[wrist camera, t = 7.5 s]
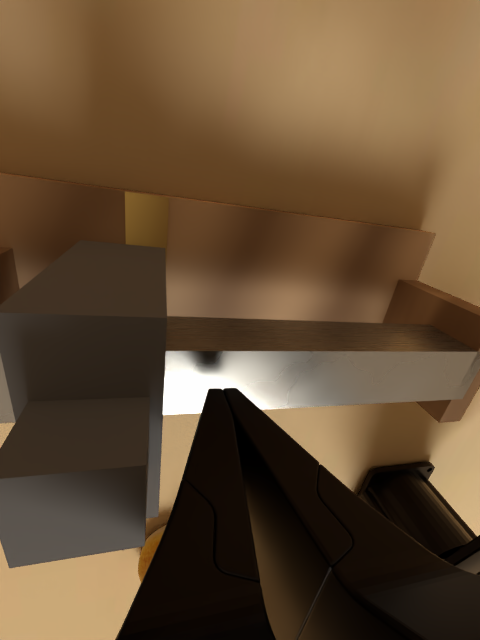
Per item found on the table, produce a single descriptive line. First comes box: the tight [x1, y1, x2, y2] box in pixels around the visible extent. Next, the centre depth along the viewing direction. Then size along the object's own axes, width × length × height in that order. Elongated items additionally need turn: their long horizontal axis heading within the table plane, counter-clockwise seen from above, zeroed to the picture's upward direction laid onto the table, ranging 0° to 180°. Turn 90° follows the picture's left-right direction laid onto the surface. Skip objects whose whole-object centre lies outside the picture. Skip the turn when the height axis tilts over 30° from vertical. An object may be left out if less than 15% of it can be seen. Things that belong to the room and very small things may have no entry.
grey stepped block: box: [0, 240, 167, 568], centre depth 9 cm, size 3×6×8 cm, turn 171°
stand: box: [0, 173, 480, 423], centre depth 13 cm, size 20×10×6 cm, turn 81°
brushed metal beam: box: [0, 316, 480, 423], centre depth 11 cm, size 19×3×3 cm, turn 81°
